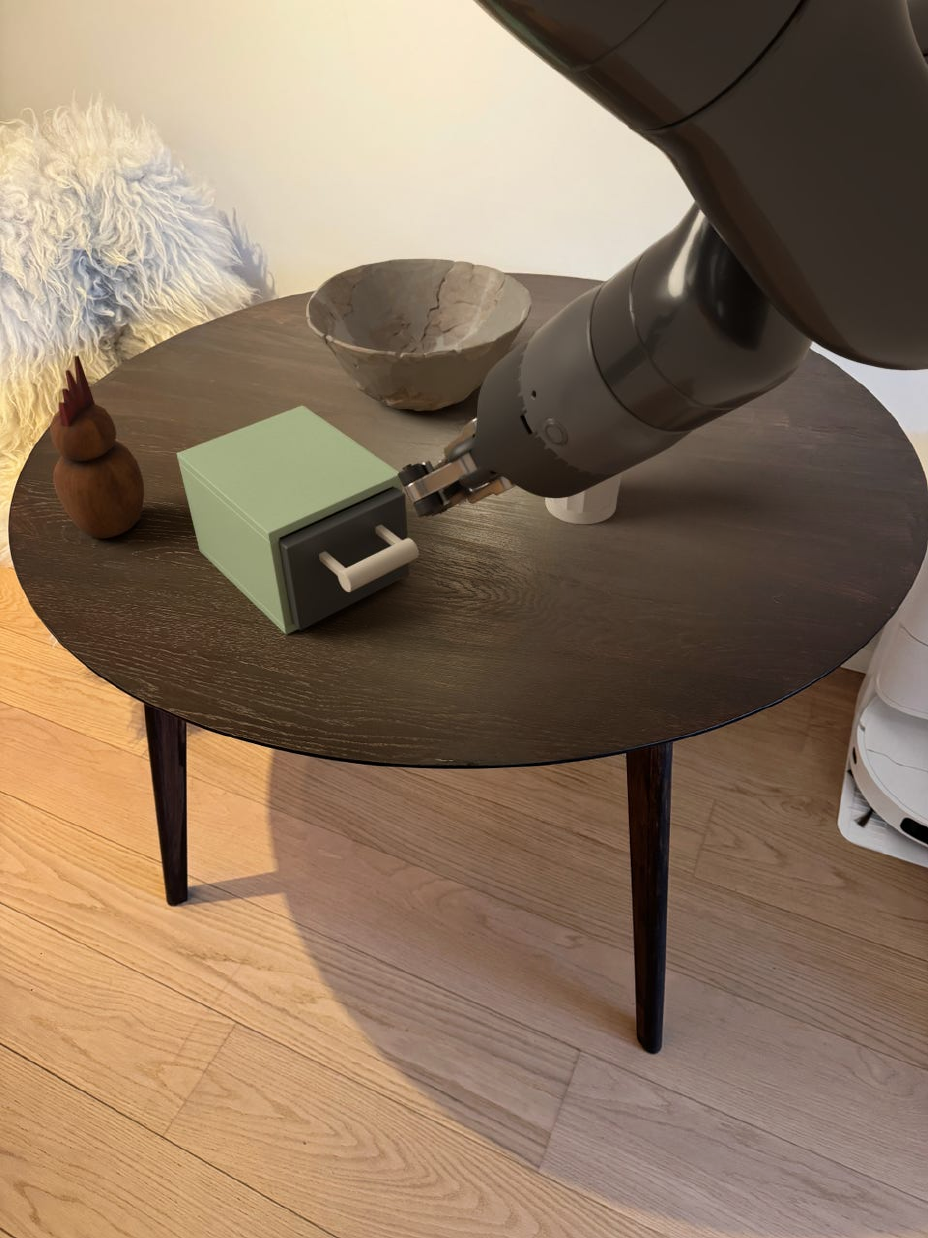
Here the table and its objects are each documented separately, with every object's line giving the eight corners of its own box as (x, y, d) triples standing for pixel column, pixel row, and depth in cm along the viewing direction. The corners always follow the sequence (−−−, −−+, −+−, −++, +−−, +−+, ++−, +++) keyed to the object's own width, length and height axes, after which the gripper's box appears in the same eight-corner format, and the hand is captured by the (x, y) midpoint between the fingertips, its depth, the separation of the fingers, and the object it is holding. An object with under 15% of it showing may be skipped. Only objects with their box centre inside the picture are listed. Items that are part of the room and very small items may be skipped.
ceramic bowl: (518, 340, 108) (522, 253, 102) (536, 446, 91) (541, 350, 84) (326, 343, 108) (316, 256, 101) (307, 451, 91) (294, 354, 84)
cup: (523, 517, 82) (529, 394, 74) (551, 471, 88) (560, 351, 80) (611, 538, 80) (627, 413, 72) (635, 489, 86) (652, 368, 78)
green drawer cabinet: (407, 572, 77) (401, 473, 70) (286, 635, 71) (268, 533, 65) (315, 500, 84) (302, 404, 78) (199, 551, 79) (175, 452, 73)
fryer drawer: (443, 601, 73) (442, 519, 68) (332, 662, 68) (321, 578, 63) (323, 505, 82) (313, 427, 77) (217, 552, 77) (199, 472, 72)
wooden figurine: (122, 496, 85) (76, 340, 75) (165, 518, 82) (123, 360, 72) (59, 533, 81) (1, 373, 71) (101, 557, 78) (48, 395, 68)
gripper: (657, 277, 45) (484, 407, 60) (443, 359, 39) (310, 481, 54) (724, 419, 46) (536, 512, 61) (525, 522, 39) (370, 597, 54)
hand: (430, 497), depth 57 cm, fingers closed
